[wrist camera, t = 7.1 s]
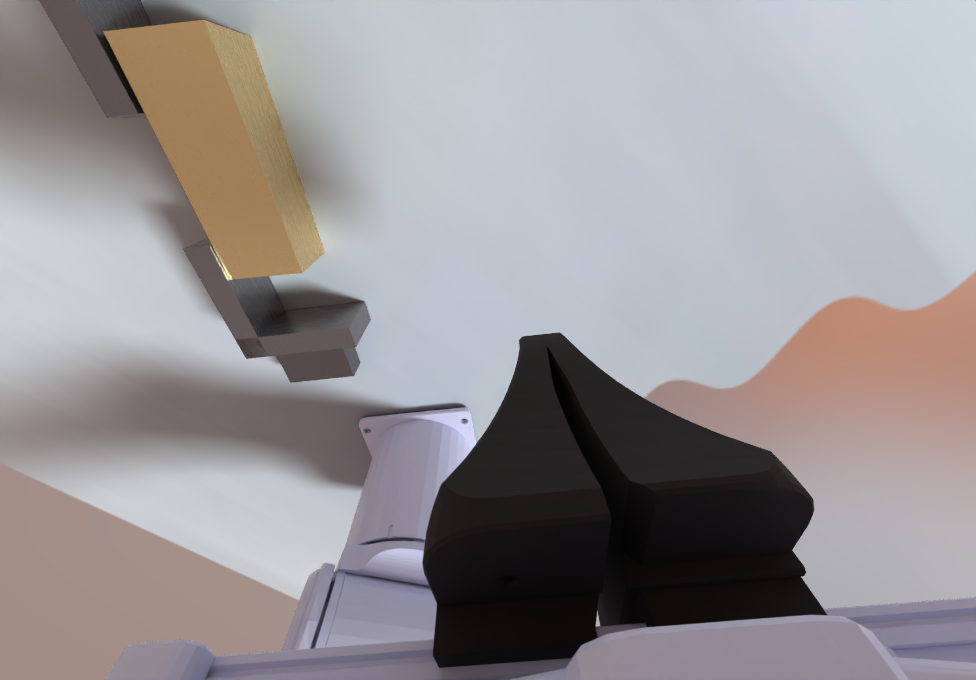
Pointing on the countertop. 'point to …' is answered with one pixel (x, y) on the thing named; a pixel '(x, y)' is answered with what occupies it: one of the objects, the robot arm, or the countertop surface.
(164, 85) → the light wood block
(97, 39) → the chain end blocks
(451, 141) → the countertop surface
